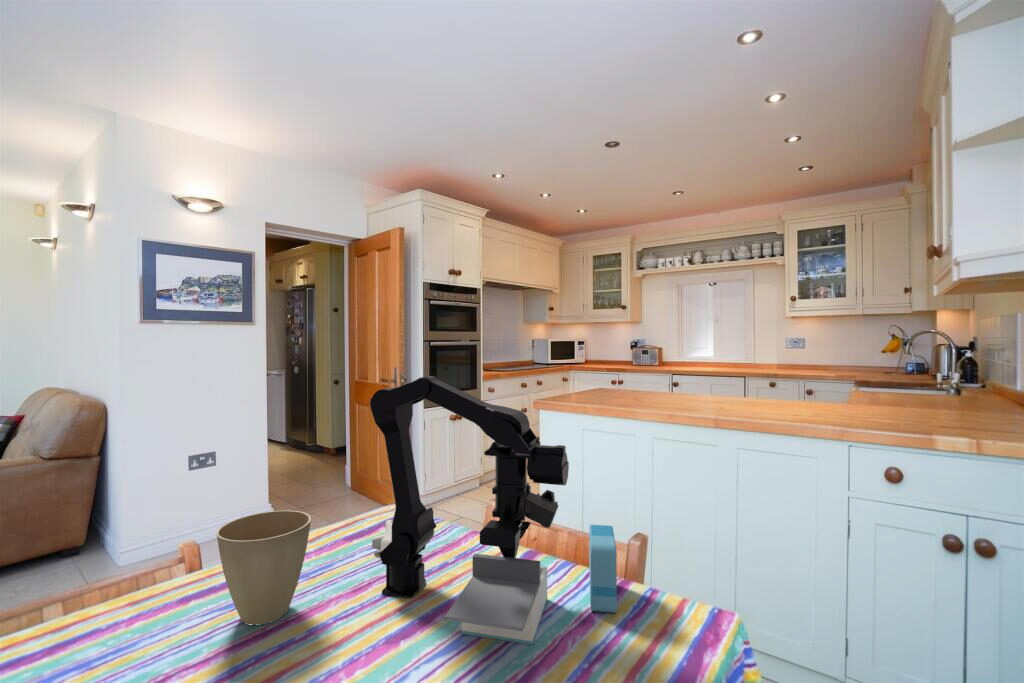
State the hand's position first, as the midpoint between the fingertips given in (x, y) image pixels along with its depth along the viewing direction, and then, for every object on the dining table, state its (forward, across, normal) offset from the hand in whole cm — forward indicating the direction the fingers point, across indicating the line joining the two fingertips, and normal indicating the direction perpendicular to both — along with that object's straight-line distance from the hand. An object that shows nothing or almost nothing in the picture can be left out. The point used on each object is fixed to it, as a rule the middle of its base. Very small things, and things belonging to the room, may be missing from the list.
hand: (511, 565), depth 86 cm
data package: (+8, +8, -16) cm, 19 cm away
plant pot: (+8, -13, +42) cm, 45 cm away
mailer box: (+8, -3, 0) cm, 8 cm away
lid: (+1, -10, 0) cm, 10 cm away
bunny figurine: (+8, +18, +33) cm, 39 cm away
